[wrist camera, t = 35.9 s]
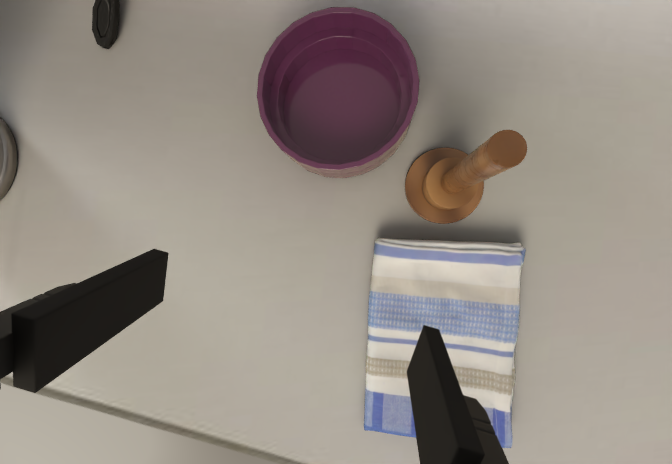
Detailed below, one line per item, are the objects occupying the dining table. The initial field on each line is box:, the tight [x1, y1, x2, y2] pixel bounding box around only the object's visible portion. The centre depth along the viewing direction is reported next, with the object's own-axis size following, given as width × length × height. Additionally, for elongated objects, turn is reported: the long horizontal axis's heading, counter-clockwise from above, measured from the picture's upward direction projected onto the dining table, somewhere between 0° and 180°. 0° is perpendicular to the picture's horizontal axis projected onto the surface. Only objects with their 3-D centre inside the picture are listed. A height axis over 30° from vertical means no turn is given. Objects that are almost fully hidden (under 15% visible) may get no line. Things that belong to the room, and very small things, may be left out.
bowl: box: [257, 7, 419, 178], centre depth 37 cm, size 17×17×6 cm
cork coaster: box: [405, 148, 484, 224], centre depth 38 cm, size 9×9×1 cm
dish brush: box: [422, 130, 527, 210], centre depth 29 cm, size 5×5×18 cm
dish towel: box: [364, 238, 526, 448], centre depth 37 cm, size 17×24×3 cm
